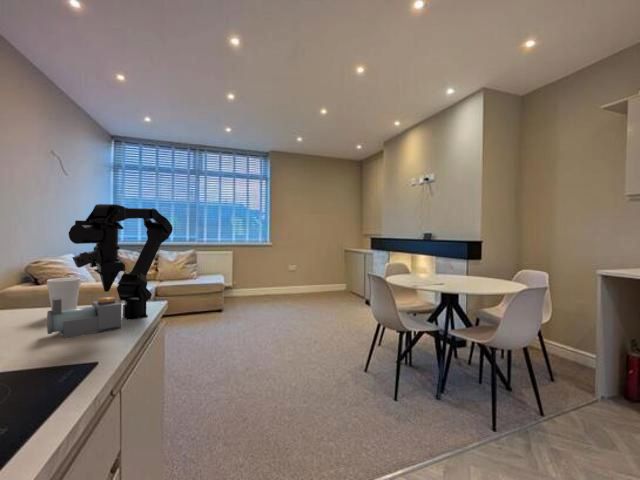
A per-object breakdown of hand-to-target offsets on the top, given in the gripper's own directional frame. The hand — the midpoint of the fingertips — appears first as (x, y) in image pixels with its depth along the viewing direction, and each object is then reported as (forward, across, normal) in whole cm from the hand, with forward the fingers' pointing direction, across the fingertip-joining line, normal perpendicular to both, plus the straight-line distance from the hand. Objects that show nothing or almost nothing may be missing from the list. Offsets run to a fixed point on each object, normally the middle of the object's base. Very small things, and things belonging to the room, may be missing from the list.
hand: (106, 291), depth 97 cm
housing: (+12, 0, -5) cm, 13 cm away
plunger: (+6, 0, 0) cm, 6 cm away
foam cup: (+12, -27, -8) cm, 31 cm away
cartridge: (+11, 0, -9) cm, 14 cm away
